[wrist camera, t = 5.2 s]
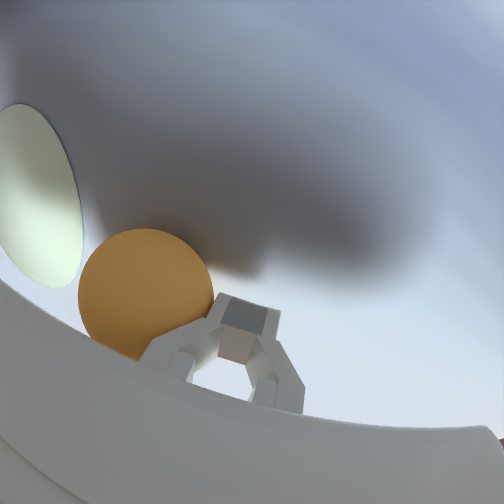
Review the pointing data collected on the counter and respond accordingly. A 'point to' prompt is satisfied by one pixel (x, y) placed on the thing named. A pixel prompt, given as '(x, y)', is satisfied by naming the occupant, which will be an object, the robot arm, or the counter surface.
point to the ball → (142, 289)
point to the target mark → (38, 199)
